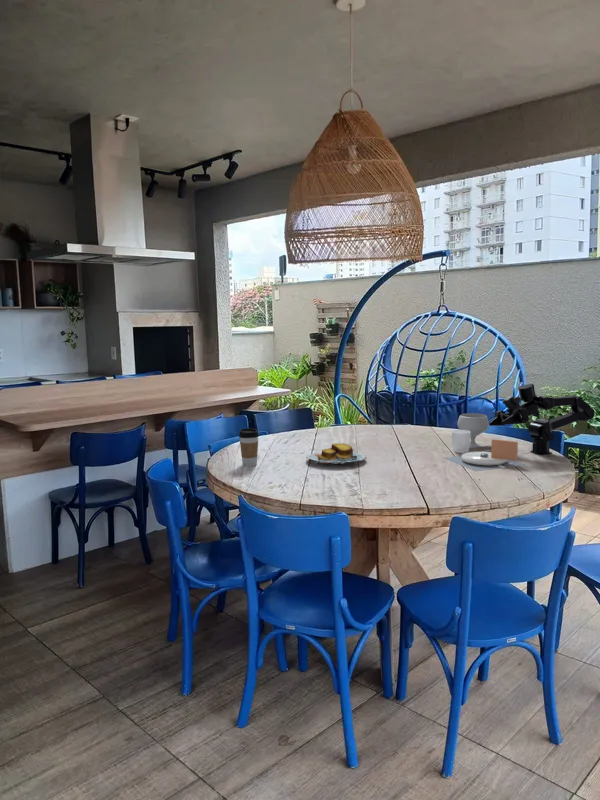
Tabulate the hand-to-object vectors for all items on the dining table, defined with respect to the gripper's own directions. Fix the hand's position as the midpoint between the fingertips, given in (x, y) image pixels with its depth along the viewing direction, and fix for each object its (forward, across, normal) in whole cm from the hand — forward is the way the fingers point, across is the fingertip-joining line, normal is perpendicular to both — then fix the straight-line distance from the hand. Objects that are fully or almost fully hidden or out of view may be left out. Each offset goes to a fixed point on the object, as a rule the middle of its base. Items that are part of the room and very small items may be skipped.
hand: (495, 424), depth 260 cm
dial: (+14, +4, +11) cm, 18 cm away
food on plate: (+65, -23, -9) cm, 69 cm away
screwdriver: (-1, -13, +13) cm, 19 cm away
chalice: (0, -25, +10) cm, 27 cm away
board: (+14, +3, +12) cm, 19 cm away
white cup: (+12, -16, +9) cm, 22 cm away
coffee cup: (+99, -30, -22) cm, 106 cm away
